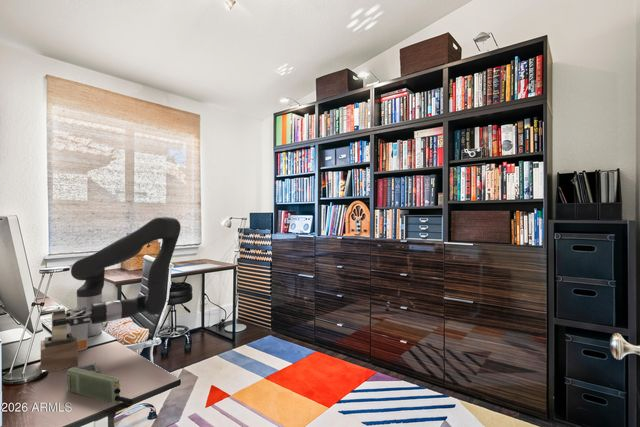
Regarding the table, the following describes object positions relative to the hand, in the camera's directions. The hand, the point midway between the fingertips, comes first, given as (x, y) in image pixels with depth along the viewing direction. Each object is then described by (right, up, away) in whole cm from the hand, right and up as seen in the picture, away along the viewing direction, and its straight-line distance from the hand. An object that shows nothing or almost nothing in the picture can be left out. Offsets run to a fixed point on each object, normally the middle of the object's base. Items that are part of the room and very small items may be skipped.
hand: (52, 320), depth 120 cm
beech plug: (+1, -8, +1) cm, 8 cm away
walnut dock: (+1, -16, +1) cm, 16 cm away
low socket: (+15, -16, -6) cm, 23 cm away
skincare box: (-1, -16, +14) cm, 21 cm away
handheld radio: (+29, -17, -20) cm, 39 cm away
